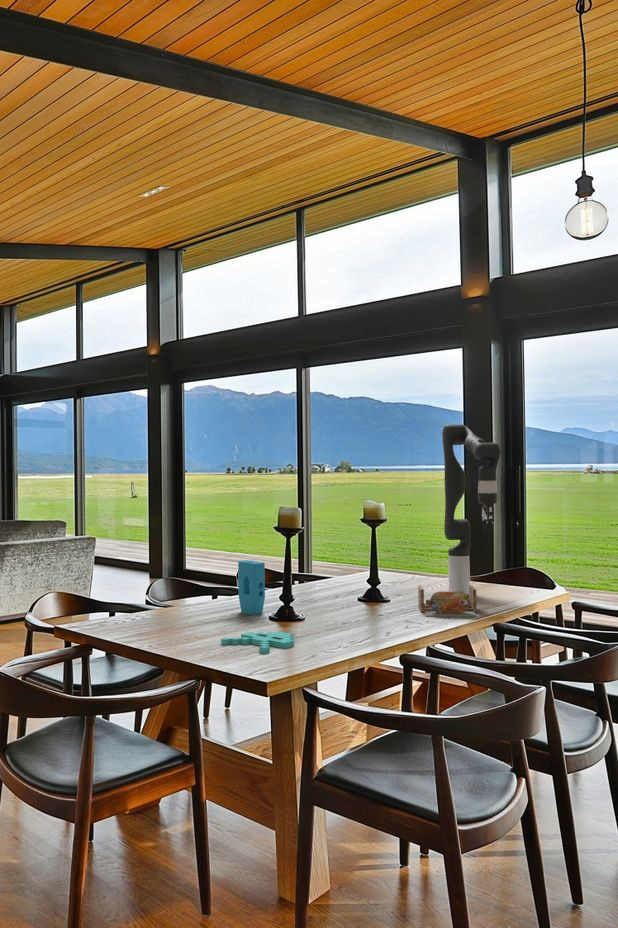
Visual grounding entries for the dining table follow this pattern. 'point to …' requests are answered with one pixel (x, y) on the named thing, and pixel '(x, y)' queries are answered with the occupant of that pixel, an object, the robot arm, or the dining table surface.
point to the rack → (428, 608)
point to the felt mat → (465, 614)
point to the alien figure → (263, 640)
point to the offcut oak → (428, 601)
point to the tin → (449, 602)
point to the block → (251, 586)
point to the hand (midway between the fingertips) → (487, 531)
